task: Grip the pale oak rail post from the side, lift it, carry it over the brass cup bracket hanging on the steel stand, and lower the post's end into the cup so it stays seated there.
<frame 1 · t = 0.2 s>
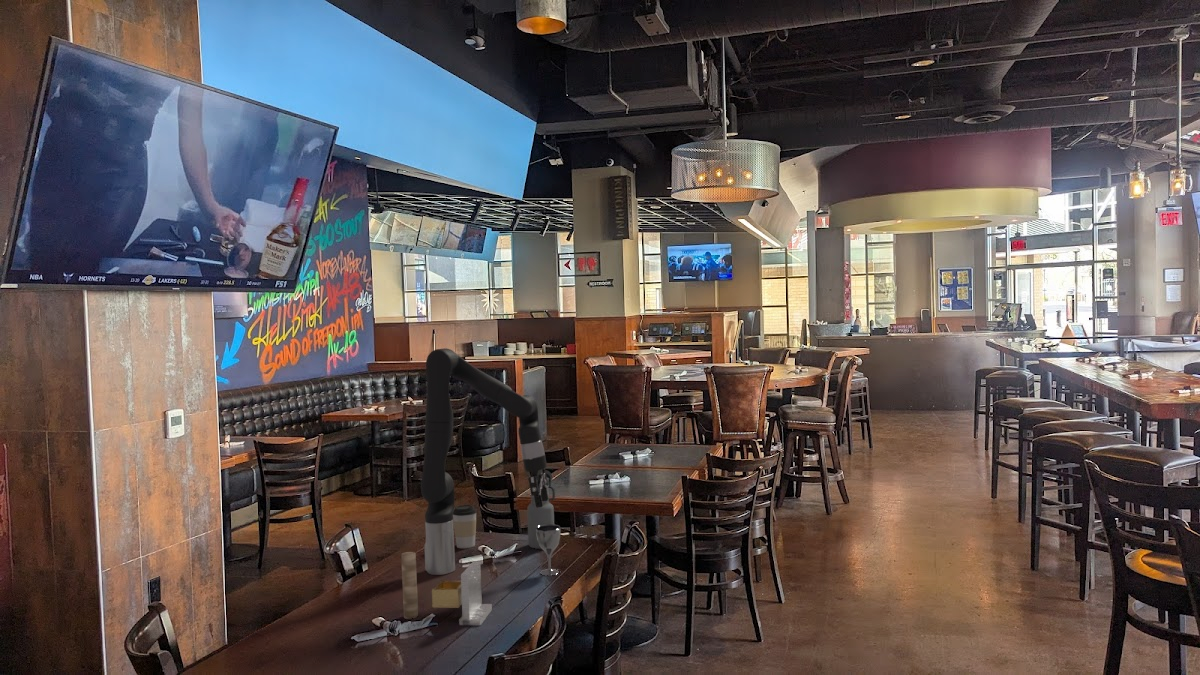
hand: (542, 503, 255), 23 cm above the table, tool pointing down, fingers open, 8 cm apart
coffee cup: (465, 546, 290), on the table
wine glass: (549, 573, 255), on the table
cup bracket: (450, 616, 220), on the table
water bottle: (542, 546, 287), on the table
rail post: (411, 616, 221), on the table
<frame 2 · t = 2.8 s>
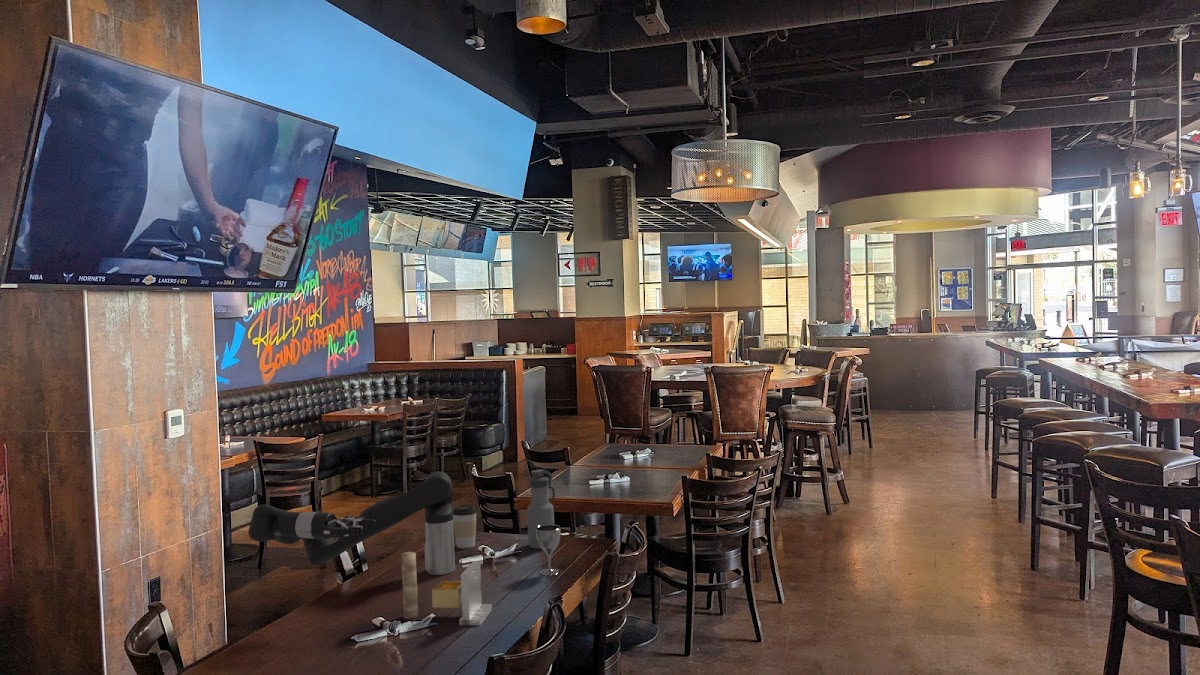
hand: (368, 527, 222), 26 cm above the table, tool horizontal, fingers open, 8 cm apart
nothing on the table moved.
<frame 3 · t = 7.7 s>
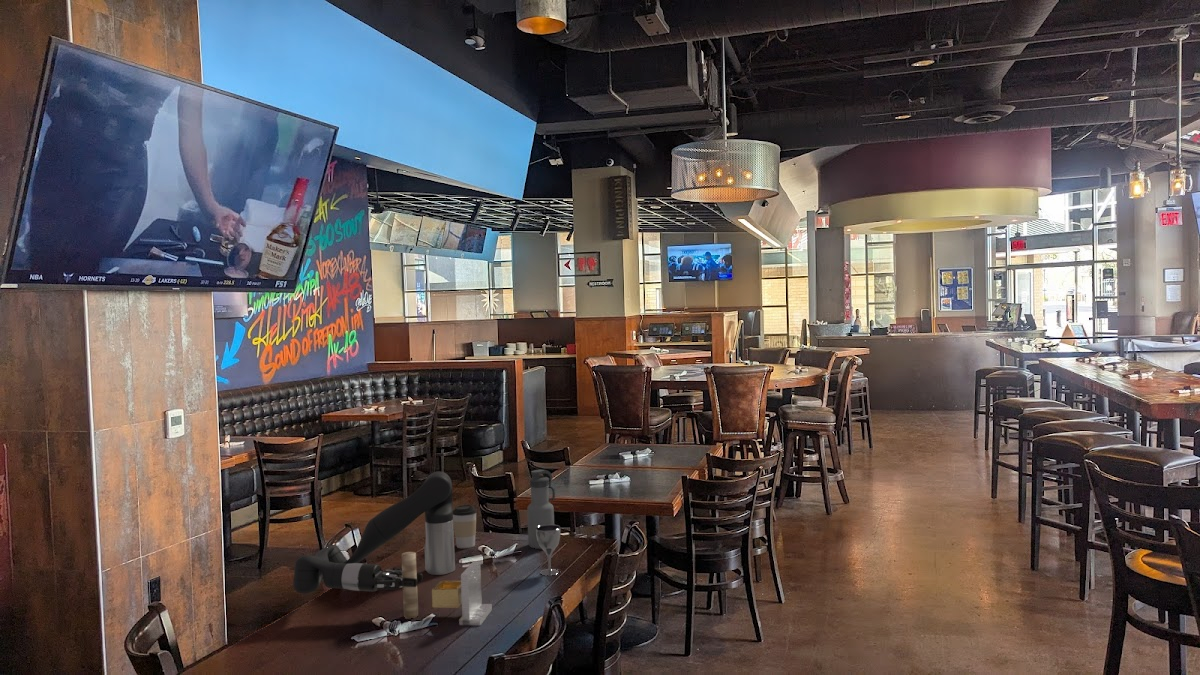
hand: (419, 580, 221), 10 cm above the table, tool horizontal, fingers closed on rail post, 4 cm apart
rail post: (411, 616, 221), on the table, touching gripper
everything else where it was.
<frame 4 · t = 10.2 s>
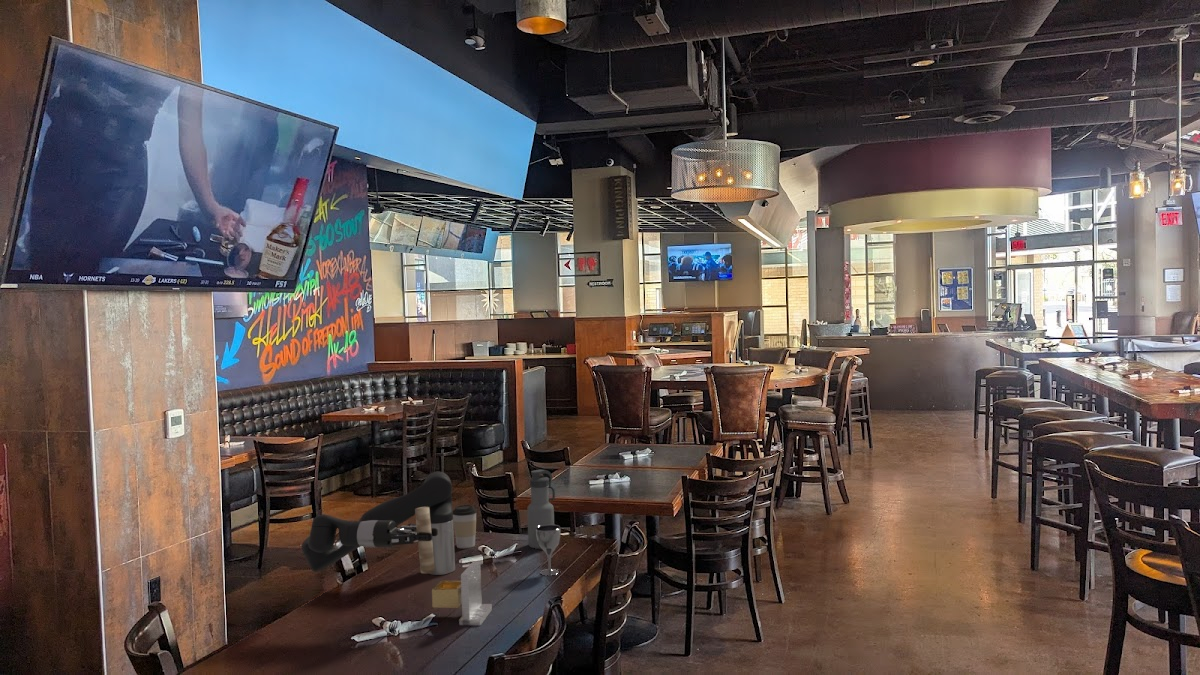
hand: (434, 534, 219), 24 cm above the table, tool horizontal, fingers closed on rail post, 4 cm apart
rail post: (427, 571, 220), point 13 cm above the table, touching gripper
everything else where it was.
when the fingers open (16 cm above the table, at t = 12.8 s): rail post stays where it is, resting on cup bracket.
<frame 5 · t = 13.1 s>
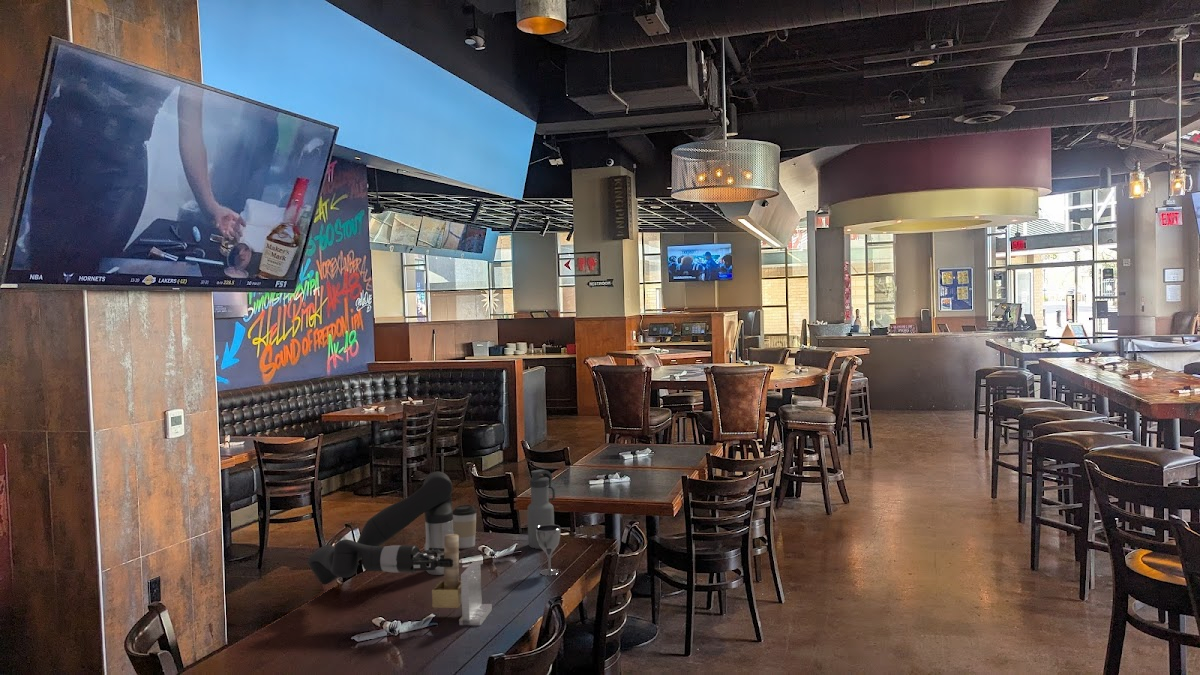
hand: (456, 559, 219), 17 cm above the table, tool horizontal, fingers open, 6 cm apart
rail post: (451, 598, 220), point 5 cm above the table, touching cup bracket
everything else where it was.
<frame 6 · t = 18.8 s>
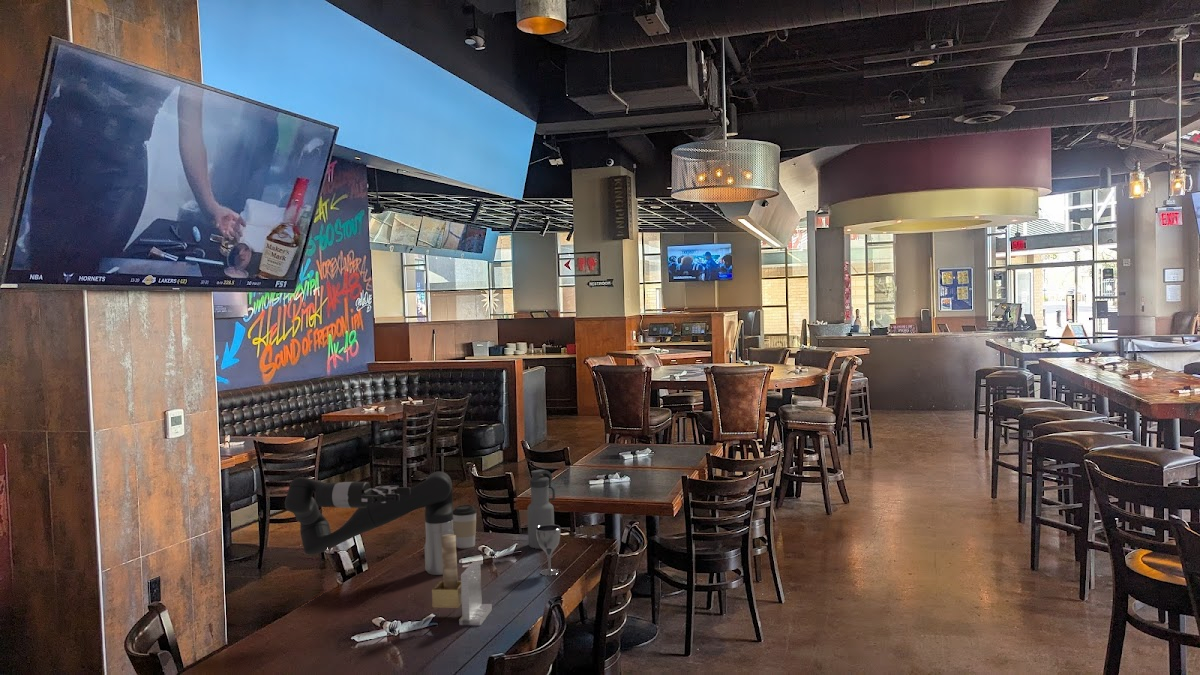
hand: (404, 494, 225), 34 cm above the table, tool horizontal, fingers open, 8 cm apart
nothing on the table moved.
at the end: rail post 0.4 cm from the target spot, point 5.1 cm above the table; rail post tilted 2°; the gripper is holding nothing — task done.
